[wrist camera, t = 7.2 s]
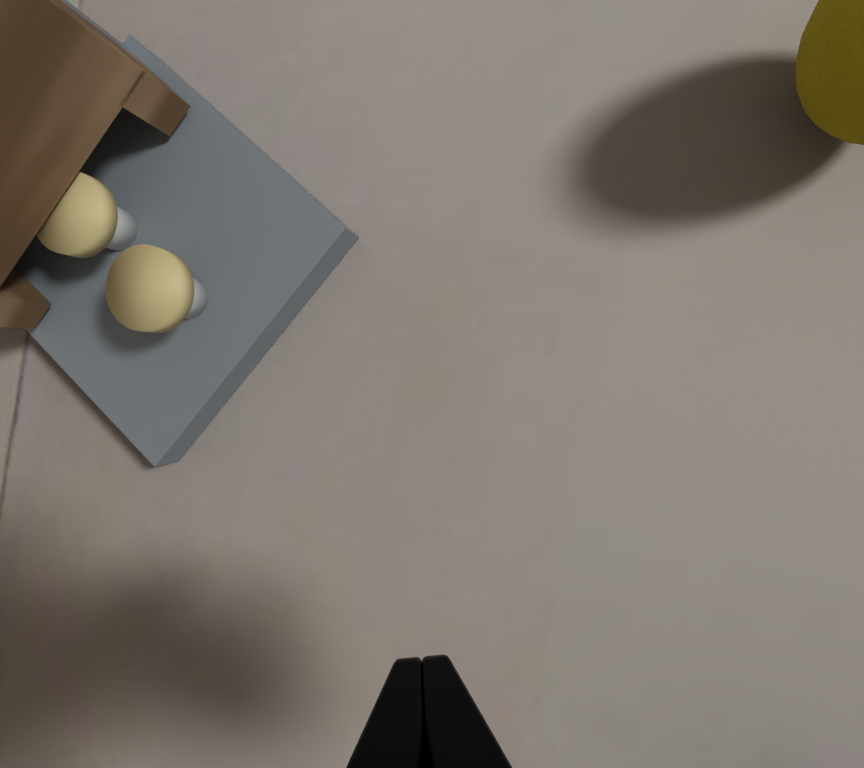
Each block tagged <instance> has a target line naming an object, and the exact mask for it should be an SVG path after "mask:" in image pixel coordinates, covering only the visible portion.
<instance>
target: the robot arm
mask: <svg viewBox="0 0 864 768" xmlns="http://www.w3.org/2000/svg"><path fill="white" fill-rule="evenodd" d="M346 768H512V766H511V765H510V763H509V761H508V759H507V758H506V756H505V754H504V752H503V751H502V749H501V747H500V745H499V744H498V742H497V740H496V739H495V737H494V735H493V733H492V732H491V730H490V728H489V726H488V725H487V723H486V721H485V719H484V718H483V716H482V714H481V712H480V711H479V709H478V707H477V705H476V704H475V702H474V700H473V698H472V697H471V695H470V693H469V692H468V690H467V688H466V686H465V685H464V683H463V681H462V679H461V678H460V676H459V674H458V672H457V671H456V669H455V667H454V665H453V664H452V662H451V660H450V659H449V657H448V656H446V655H434V656H426V657H424V658H423V660H422V662H421V659H420V658H418V657H413V658H402V659H397V660H396V661H395V662H394V664H393V666H392V668H391V670H390V673H389V675H388V677H387V679H386V681H385V684H384V686H383V688H382V690H381V692H380V695H379V697H378V699H377V701H376V703H375V706H374V708H373V710H372V712H371V714H370V717H369V719H368V721H367V723H366V725H365V728H364V730H363V732H362V734H361V736H360V739H359V741H358V743H357V745H356V747H355V750H354V752H353V754H352V756H351V758H350V761H349V763H348V765H347V767H346Z"/></svg>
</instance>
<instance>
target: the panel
mask: <svg viewBox="0 0 864 768" xmlns="http://www.w3.org/2000/svg"><path fill="white" fill-rule="evenodd" d="M122 107H123V108H125V109H126V110H128V111H130V112H131V113H133V114H134V115H136V116H138V117H139V118H141V119H142V120H144V121H146V122H147V123H149V124H150V125H152V126H154V127H155V128H157V129H158V130H160V131H162V132H163V133H165V134H166V135H168V136H170V135H171V134H172V132H173V131H174V129H175V128H176V126H177V125H178V124H179V122H180V121H181V119H182V118H183V117H184V115H185V114H186V112H187V111H188V109H189V108H190V107H191V106H190V105H189V104H188V103H187V102H185V101H184V100H183V99H182V98H181V97H180V96H179V95H178V94H177V93H176V92H174V91H173V90H172V89H171V88H170V87H169V86H168V85H167V84H166V83H164V82H163V81H162V80H161V79H160V78H159V77H158V76H157V75H156V74H155V73H153V72H152V71H151V70H150V69H149V68H148V67H147V66H146V65H145V64H143V63H142V62H141V61H140V60H138V59H137V58H136V57H134V56H133V55H132V54H130V53H129V52H128V51H127V50H125V49H124V48H123V47H121V46H120V45H119V44H117V43H116V42H115V41H113V40H112V39H111V38H110V37H108V36H107V35H106V34H104V33H103V32H102V31H100V30H99V29H98V28H96V27H95V26H94V25H93V24H91V23H90V22H89V21H87V20H86V19H85V18H83V17H82V16H81V15H80V14H78V13H77V12H76V11H74V10H73V9H72V8H70V7H69V6H68V5H66V4H65V3H64V2H63V1H61V0H0V327H3V328H15V329H27V330H33V329H34V328H35V326H36V325H37V324H38V322H39V321H40V319H41V318H42V317H43V315H44V314H45V312H46V311H47V309H48V308H49V307H50V305H51V303H50V302H49V301H48V300H47V299H46V298H45V297H44V296H43V295H42V294H41V293H40V292H39V291H38V290H37V289H36V288H35V286H34V285H33V284H32V283H31V282H30V281H29V280H28V279H27V278H26V277H25V276H24V275H23V274H22V273H21V272H20V271H19V270H18V269H17V268H16V267H15V264H16V263H17V261H18V260H19V259H20V257H21V256H22V254H23V253H24V251H25V250H26V248H27V247H28V245H29V244H30V242H31V241H32V239H33V238H34V236H35V235H36V234H37V232H38V231H39V229H40V228H41V226H42V225H43V223H44V222H45V220H46V219H47V217H48V216H49V214H50V213H51V211H52V210H53V209H54V207H55V206H56V204H57V203H58V201H59V200H60V198H61V197H62V195H63V194H64V192H65V191H66V189H67V188H68V187H69V185H70V184H71V182H72V181H73V179H74V178H75V176H76V175H77V173H78V172H79V170H80V169H81V167H82V166H83V164H84V163H85V162H86V160H87V159H88V157H89V156H90V154H91V153H92V151H93V150H94V148H95V147H96V145H97V144H98V142H99V141H100V139H101V138H102V137H103V135H104V134H105V132H106V131H107V129H108V128H109V126H110V125H111V123H112V122H113V120H114V119H115V117H116V116H117V114H118V113H119V112H120V110H121V109H122Z"/></svg>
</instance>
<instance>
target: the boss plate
mask: <svg viewBox="0 0 864 768" xmlns="http://www.w3.org/2000/svg"><path fill="white" fill-rule="evenodd" d="M61 1H63V2H64V3H65V4H66V5H68V6H69V7H70V8H72V9H73V10H74V11H76V12H77V13H78V14H80V15H81V16H82V17H83V18H85V19H86V20H87V21H89V22H90V23H91V24H93V25H94V26H95V27H96V28H98V29H99V30H100V31H102V32H103V33H104V34H106V35H107V36H108V37H110V38H111V39H112V40H113V41H115V42H116V43H117V44H119V45H120V46H121V47H123V48H124V49H125V50H127V51H128V52H129V53H130V54H132V55H133V56H134V57H136V58H137V59H138V60H140V61H141V62H142V63H143V64H145V65H146V66H147V67H148V68H149V69H150V70H151V71H152V72H153V73H155V74H156V75H157V76H158V77H159V78H160V79H161V80H162V81H163V82H164V83H166V84H167V85H168V86H169V87H170V88H171V89H172V90H173V91H174V92H176V93H177V94H178V95H179V96H180V97H181V98H182V99H183V100H184V101H185V102H187V103H188V104H189V105H190V106H191V107H190V108H189V109H188V111H187V112H186V114H185V115H184V117H183V118H182V119H181V121H180V122H179V124H178V125H177V126H176V128H175V129H174V131H173V132H172V134H171V135H170V136H168V135H166V134H165V133H163V132H162V131H160V130H158V129H157V128H155V127H154V126H152V125H150V124H149V123H147V122H146V121H144V120H142V119H141V118H139V117H138V116H136V115H134V114H133V113H131V112H130V111H128V110H126V109H125V108H123V107H122V109H121V110H120V112H119V113H118V114H117V116H116V117H115V119H114V120H113V122H112V123H111V125H110V126H109V128H108V129H107V131H106V132H105V134H104V135H103V137H102V138H101V139H100V141H99V142H98V144H97V145H96V147H95V148H94V150H93V151H92V153H91V154H90V156H89V157H88V159H87V160H86V162H85V163H84V164H83V166H82V167H81V169H80V170H79V172H78V173H77V175H76V176H75V178H74V179H73V181H72V182H71V184H70V185H69V187H68V188H67V189H66V191H65V192H64V194H63V195H62V197H61V198H60V200H59V201H58V203H57V204H56V206H55V207H54V209H53V210H52V211H51V213H50V214H49V216H48V217H47V219H46V220H45V222H44V223H43V225H42V226H41V228H40V229H39V231H38V232H37V234H36V235H35V236H34V238H33V239H32V241H31V242H30V244H29V245H28V247H27V248H26V250H25V251H24V253H23V254H22V256H21V257H20V259H19V260H18V261H17V263H16V264H15V267H16V268H17V269H18V270H19V271H20V272H21V273H22V274H23V275H24V276H25V277H26V278H27V279H28V280H29V281H30V282H31V283H32V284H33V285H34V286H35V288H36V289H37V290H38V291H39V292H40V293H41V294H42V295H43V296H44V297H45V298H46V299H47V300H48V301H49V302H50V303H51V305H50V307H49V308H48V309H47V311H46V312H45V314H44V315H43V317H42V318H41V319H40V321H39V322H38V324H37V325H36V326H35V328H34V329H33V330H27V329H26V330H27V331H28V333H29V334H30V335H31V336H32V337H33V338H34V339H35V340H36V341H37V342H38V343H39V344H40V345H41V346H42V347H43V349H44V350H45V351H46V352H47V353H48V354H49V355H50V356H51V357H52V358H53V359H54V360H55V361H56V362H57V363H58V365H59V366H60V367H61V368H62V369H63V370H64V371H65V372H66V373H67V374H68V375H69V376H70V377H71V378H72V379H73V381H74V382H75V383H76V384H77V385H78V386H79V387H80V388H81V389H82V390H83V391H84V392H85V393H86V394H87V395H88V397H89V398H90V399H91V400H92V401H93V402H94V403H95V404H96V405H97V406H98V407H99V408H100V409H101V410H102V411H103V413H104V414H105V415H106V416H107V417H108V418H109V419H110V420H111V421H112V422H113V423H114V424H115V425H116V426H117V427H118V429H119V430H120V431H121V432H122V433H123V434H124V435H125V436H126V437H127V438H128V439H129V440H130V441H131V442H132V443H133V445H134V446H135V447H136V448H137V449H138V450H139V451H140V452H141V453H142V454H143V455H144V456H145V457H146V458H147V459H148V461H149V462H150V463H151V464H152V465H153V466H154V467H157V466H162V465H166V464H170V463H174V462H178V461H179V460H180V459H181V458H182V457H183V455H184V454H185V453H186V452H187V450H188V449H189V448H190V447H191V445H192V444H193V443H194V442H195V440H196V439H197V438H198V437H199V435H200V434H201V433H202V432H203V431H204V429H205V428H206V427H207V426H208V424H209V423H210V422H211V421H212V419H213V418H214V417H215V416H216V414H217V413H218V412H219V411H220V409H221V408H222V407H223V406H224V404H225V403H226V402H227V401H228V399H229V398H230V397H231V396H232V395H233V393H234V392H235V391H236V390H237V388H238V387H239V386H240V385H241V383H242V382H243V381H244V380H245V378H246V377H247V376H248V375H249V373H250V372H251V371H252V370H253V368H254V367H255V366H256V365H257V363H258V362H259V361H260V360H261V359H262V357H263V356H264V355H265V354H266V352H267V351H268V350H269V349H270V347H271V346H272V345H273V344H274V342H275V341H276V340H277V339H278V337H279V336H280V335H281V334H282V332H283V331H284V330H285V329H286V328H287V326H288V325H289V324H290V323H291V321H292V320H293V319H294V318H295V316H296V315H297V314H298V313H299V311H300V310H301V309H302V308H303V306H304V305H305V304H306V303H307V301H308V300H309V299H310V298H311V296H312V295H313V294H314V293H315V292H316V290H317V289H318V288H319V287H320V285H321V284H322V283H323V282H324V280H325V279H326V278H327V277H328V275H329V274H330V273H331V272H332V270H333V269H334V268H335V267H336V265H337V264H338V263H339V262H340V260H341V259H342V258H343V257H344V256H345V254H346V253H347V252H348V251H349V249H350V248H351V247H352V246H353V244H354V243H355V242H356V241H357V239H358V238H359V237H358V236H357V235H356V234H355V233H353V232H352V231H351V230H350V229H349V228H348V227H347V226H346V225H345V224H343V223H342V222H341V221H340V220H339V219H338V218H337V217H336V216H334V215H333V214H332V213H331V212H330V211H329V210H328V209H327V208H326V207H324V206H323V205H322V204H321V203H320V202H319V201H318V200H317V199H315V198H314V197H313V196H312V195H311V194H310V193H309V192H308V191H307V190H305V189H304V188H303V187H302V186H301V185H300V184H299V183H298V182H297V181H295V180H294V179H293V178H292V177H291V176H290V175H289V174H288V173H286V172H285V171H284V170H283V169H282V168H281V167H280V166H279V165H278V164H276V163H275V162H274V161H273V160H272V159H271V158H270V157H269V156H268V155H266V154H265V153H264V152H263V151H262V150H261V149H260V148H259V147H257V146H256V145H255V144H254V143H253V142H252V141H251V140H250V139H249V138H247V137H246V136H245V135H244V134H243V133H242V132H241V131H240V130H238V129H237V128H236V127H235V126H234V125H233V124H232V123H231V122H230V121H228V120H227V119H226V118H225V117H224V116H223V115H222V114H221V113H220V112H218V111H217V110H216V109H215V108H214V107H213V106H212V105H211V104H209V103H208V102H207V101H206V100H205V99H204V98H203V97H202V96H201V95H199V94H198V93H197V92H196V91H195V90H194V89H193V88H192V87H190V86H189V85H188V84H187V83H186V82H185V81H184V80H183V79H182V78H180V77H179V76H178V75H177V74H176V73H175V72H174V71H173V70H172V69H170V68H169V67H168V66H167V65H166V64H165V63H164V62H163V61H161V60H160V59H159V58H158V57H157V56H156V55H155V54H153V53H152V52H151V51H150V50H149V49H147V48H146V47H145V46H144V45H142V44H141V43H140V42H139V41H137V40H136V39H135V38H134V37H132V36H131V35H130V34H129V36H128V37H127V39H126V40H125V42H124V43H123V44H122V43H121V42H120V41H118V40H117V39H116V38H114V37H113V36H112V35H111V34H109V33H108V32H107V31H105V30H104V29H103V28H101V27H100V26H99V25H98V24H96V23H95V22H94V21H92V20H91V19H90V18H89V17H87V16H86V15H85V14H83V13H82V12H81V11H80V10H78V9H77V8H76V7H74V6H73V5H72V4H70V3H69V2H68V1H67V0H61Z"/></svg>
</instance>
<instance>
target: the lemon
mask: <svg viewBox="0 0 864 768" xmlns="http://www.w3.org/2000/svg"><path fill="white" fill-rule="evenodd" d="M795 74H796V89H797V93H798V95H799V98H800V101H801V103H802V106H803V109H804V111H805V112H806V113H807V115H808V116H809V117H810V118H811V120H812V121H813V122H814V124H815V125H817V126H818V127H819V128H821V129H822V130H824V131H825V132H826V133H828V134H829V135H831V136H833V137H836V138H838V139H841V140H844V141H846V142H849V143H853V144H861V145H864V0H819V1H818V3H817V5H816V7H815V9H814V11H813V13H812V15H811V17H810V19H809V21H808V23H807V25H806V27H805V30H804V32H803V34H802V37H801V41H800V45H799V50H798V55H797V60H796V65H795Z"/></svg>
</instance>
